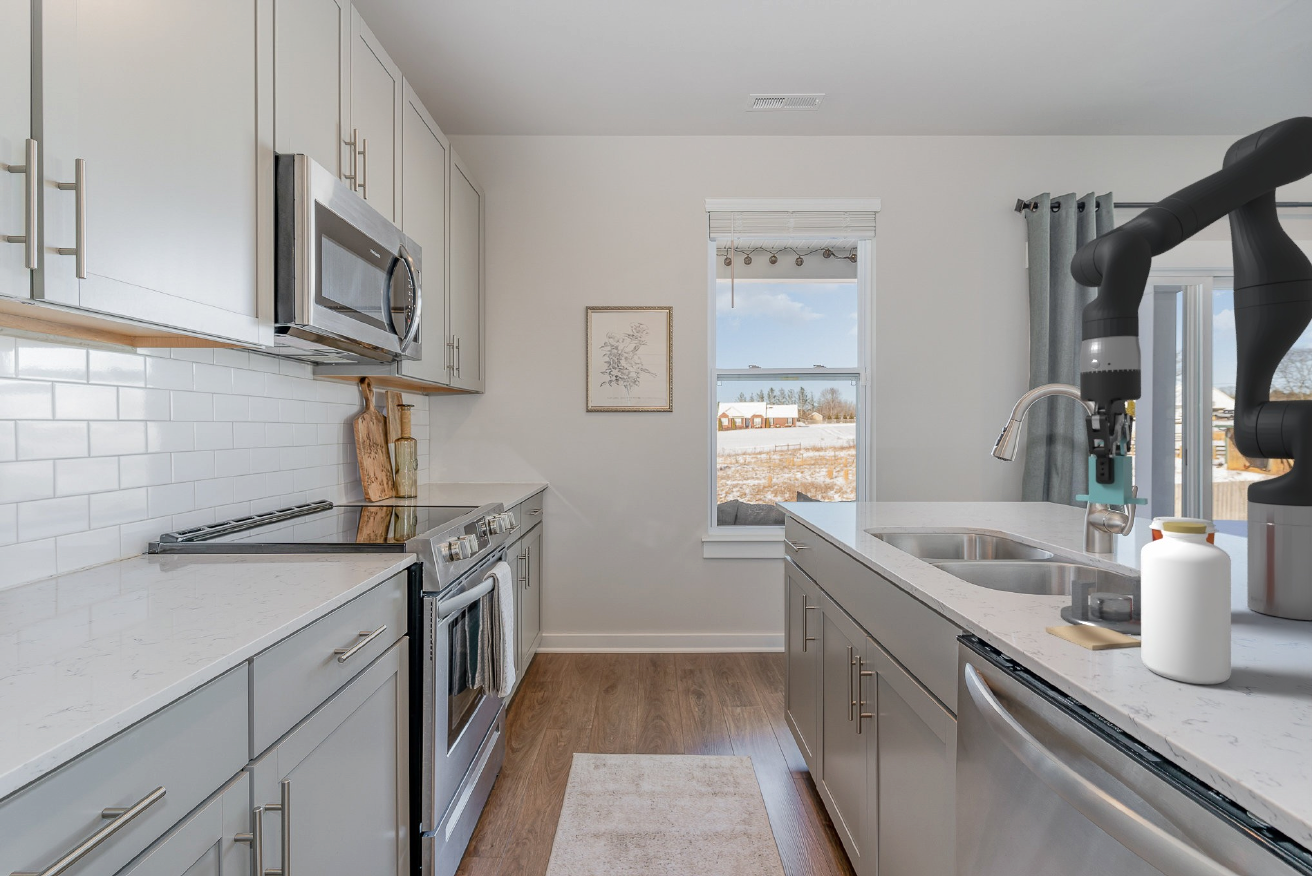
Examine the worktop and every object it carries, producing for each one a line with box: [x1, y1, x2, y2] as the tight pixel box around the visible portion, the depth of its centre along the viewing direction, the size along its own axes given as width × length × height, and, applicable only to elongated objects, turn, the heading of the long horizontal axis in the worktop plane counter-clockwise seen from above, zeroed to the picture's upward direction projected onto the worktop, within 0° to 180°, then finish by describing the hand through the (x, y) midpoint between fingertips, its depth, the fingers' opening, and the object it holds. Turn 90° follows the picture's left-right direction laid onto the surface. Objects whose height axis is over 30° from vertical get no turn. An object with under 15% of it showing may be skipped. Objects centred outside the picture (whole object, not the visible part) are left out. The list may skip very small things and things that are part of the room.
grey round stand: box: [1060, 575, 1141, 636], centre depth 98 cm, size 13×13×6 cm
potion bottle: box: [1140, 522, 1232, 685], centre depth 77 cm, size 8×8×18 cm
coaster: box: [1045, 624, 1141, 651], centre depth 91 cm, size 8×8×1 cm
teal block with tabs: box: [1075, 455, 1148, 506], centre depth 98 cm, size 9×4×7 cm, turn 40°
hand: (1110, 482), depth 98 cm, fingers closed on teal block with tabs, 4 cm apart
